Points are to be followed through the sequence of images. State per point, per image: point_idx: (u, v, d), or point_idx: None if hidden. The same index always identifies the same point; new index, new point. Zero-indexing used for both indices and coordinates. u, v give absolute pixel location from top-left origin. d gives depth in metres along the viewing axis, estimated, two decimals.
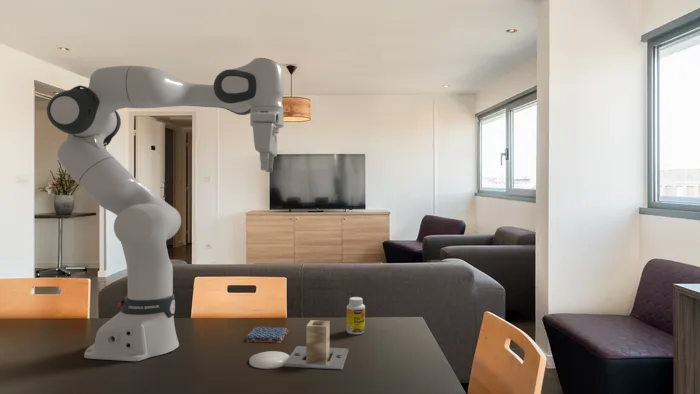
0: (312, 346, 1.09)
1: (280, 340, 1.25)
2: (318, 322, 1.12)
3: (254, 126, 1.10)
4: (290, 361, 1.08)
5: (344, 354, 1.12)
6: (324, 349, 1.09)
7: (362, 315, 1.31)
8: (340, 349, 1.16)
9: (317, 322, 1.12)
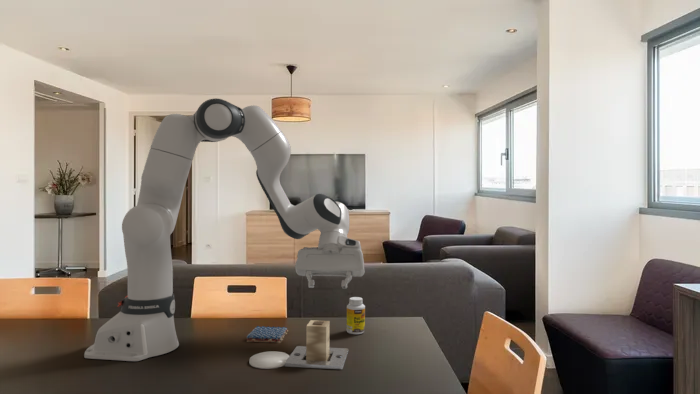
0: (312, 346, 1.09)
1: (280, 340, 1.25)
2: (318, 322, 1.12)
3: None
4: (290, 361, 1.08)
5: (344, 354, 1.12)
6: (324, 349, 1.09)
7: (362, 315, 1.31)
8: (340, 349, 1.16)
9: (317, 322, 1.12)
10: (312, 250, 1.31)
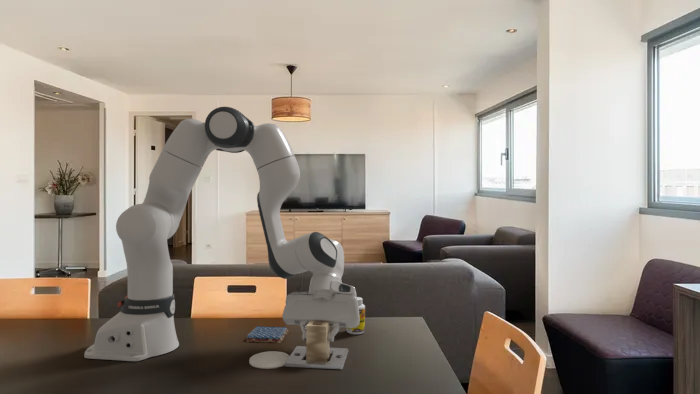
0: (312, 346, 1.09)
1: (280, 340, 1.25)
2: (318, 322, 1.12)
3: None
4: (290, 361, 1.08)
5: (344, 354, 1.12)
6: (324, 349, 1.09)
7: (362, 315, 1.31)
8: (340, 349, 1.16)
9: (317, 322, 1.12)
10: (302, 296, 1.18)
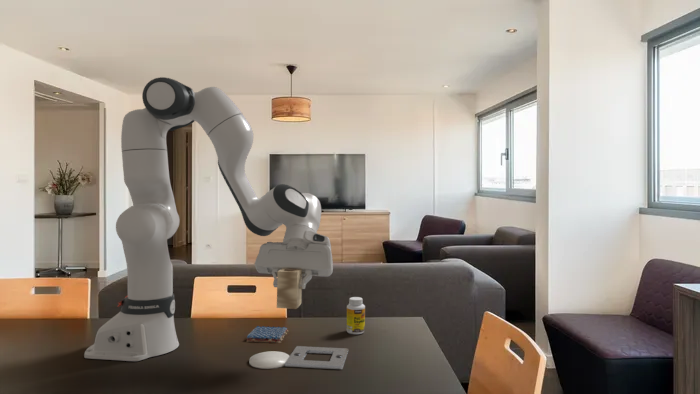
0: (283, 292, 1.08)
1: (280, 340, 1.25)
2: (290, 269, 1.11)
3: (330, 249, 1.15)
4: (290, 361, 1.08)
5: (344, 354, 1.12)
6: (295, 295, 1.08)
7: (362, 315, 1.31)
8: (340, 349, 1.16)
9: (289, 269, 1.11)
10: (276, 245, 1.17)
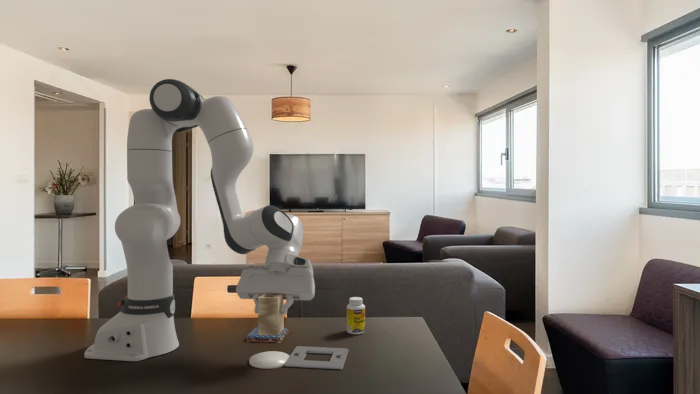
0: (264, 318, 1.08)
1: (280, 340, 1.25)
2: (271, 294, 1.10)
3: (311, 272, 1.14)
4: (290, 361, 1.08)
5: (344, 354, 1.12)
6: (276, 321, 1.07)
7: (362, 315, 1.31)
8: (340, 349, 1.16)
9: (270, 294, 1.10)
10: (257, 270, 1.17)
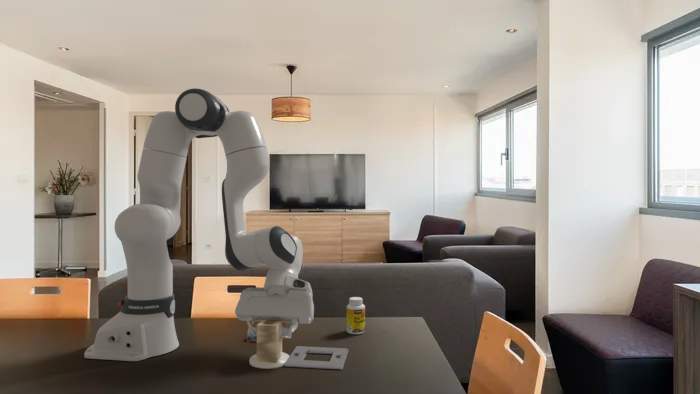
0: (262, 345, 1.08)
1: None
2: (270, 321, 1.10)
3: (311, 295, 1.14)
4: (290, 361, 1.08)
5: (344, 354, 1.12)
6: (274, 348, 1.07)
7: (362, 315, 1.31)
8: (340, 349, 1.16)
9: (269, 321, 1.10)
10: (256, 291, 1.17)
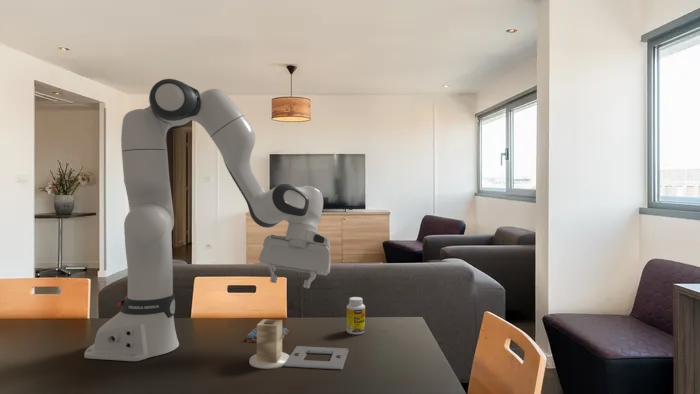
0: (262, 345, 1.08)
1: None
2: (270, 321, 1.10)
3: (329, 251, 1.24)
4: (290, 361, 1.08)
5: (344, 354, 1.12)
6: (274, 348, 1.07)
7: (362, 315, 1.31)
8: (340, 349, 1.16)
9: (269, 321, 1.10)
10: (278, 241, 1.26)
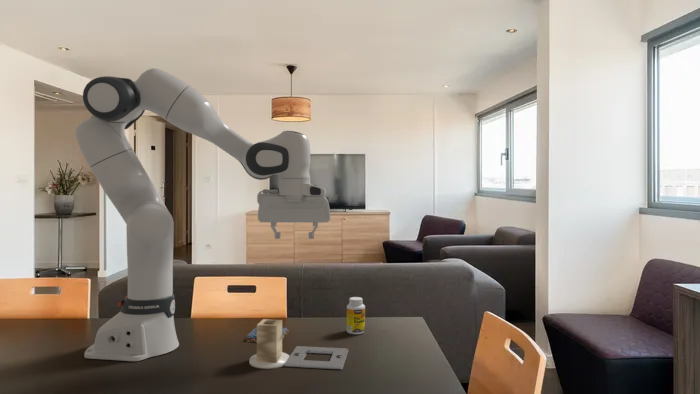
0: (262, 345, 1.08)
1: None
2: (270, 321, 1.10)
3: (327, 201, 1.23)
4: (290, 361, 1.08)
5: (344, 354, 1.12)
6: (274, 348, 1.07)
7: (362, 315, 1.31)
8: (340, 349, 1.16)
9: (269, 321, 1.10)
10: (273, 198, 1.22)
